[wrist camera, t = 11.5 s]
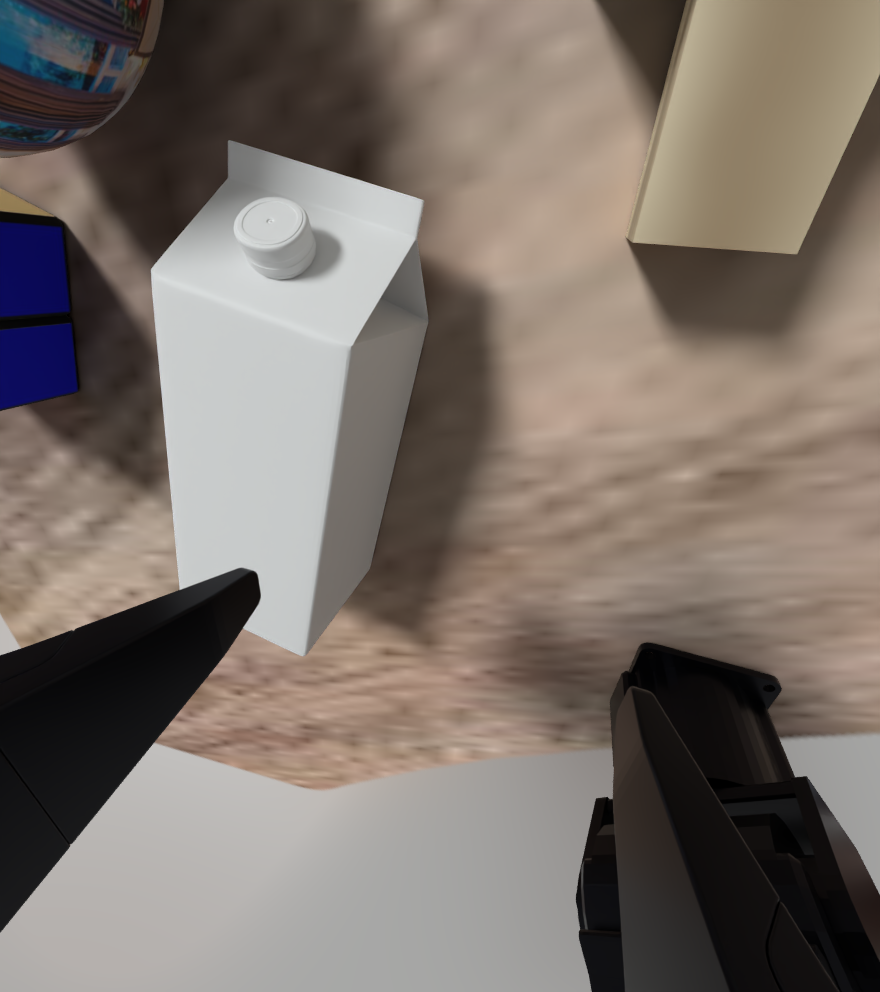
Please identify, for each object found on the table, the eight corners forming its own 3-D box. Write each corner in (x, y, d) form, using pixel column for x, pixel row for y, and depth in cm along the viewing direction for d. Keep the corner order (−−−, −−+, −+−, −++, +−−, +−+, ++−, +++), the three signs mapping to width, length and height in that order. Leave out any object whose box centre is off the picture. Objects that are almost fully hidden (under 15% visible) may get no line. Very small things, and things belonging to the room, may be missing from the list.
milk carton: (270, 527, 27) (292, 163, 17) (369, 571, 26) (454, 213, 16) (179, 600, 21) (131, 103, 11) (304, 660, 20) (375, 178, 10)
